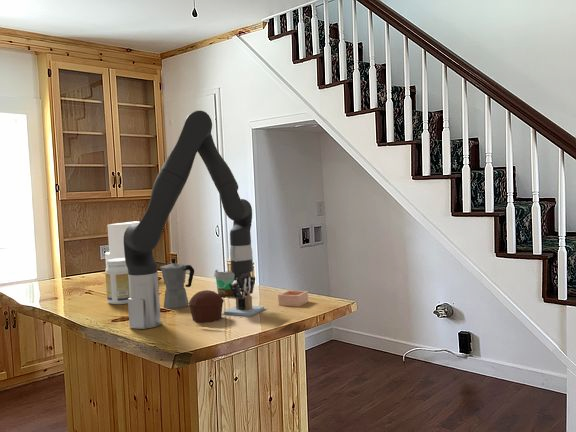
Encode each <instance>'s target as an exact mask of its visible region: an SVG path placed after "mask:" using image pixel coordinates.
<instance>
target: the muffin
mask: <svg viewBox="0 0 576 432" xmlns="http://www.w3.org/2000/svg"><path fill="white" fill-rule="evenodd" d="M224 302H225V300H224V299H223V297H221V296H220V295H219V294H218V292H216V291H214V290H206V289H205V290H201V291H197V292H196V293H195V294H194V295H193V296H192V297H191V298H190V300H188V303H189V304H188V306H189V308H190V313H191V317H192V321H194V322H195V323H200V324H201V323H203V324H204V323H212V322H216V321H220V319H222V316H223V315H222V314H223V304H224Z"/></svg>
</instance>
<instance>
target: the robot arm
mask: <svg viewBox="0 0 576 432" xmlns="http://www.w3.org/2000/svg"><path fill="white" fill-rule="evenodd" d="M212 130H213V121H212V118H211V116H210V115H209V114H208V113H207V112H206V111H205V110H204V111H203V110H195V111H192V112H191V113H189V114H188V115H187V116H186V118H185V120H184V124H183V126H182V129H181V130H180V134H179V136H178V138H177V142H176V143H175V145H174V147H173V148H172V150H171V151H170V153H169V154H168V156H167V157H166V159H165V161H164V163H163V164H162V166H161V168H160V169H159V171H158V174H157V176H156V178H155V180H154V182H153V185H152V188H151V193H150V199H149V202H148V207H147V209H146V211H145V213H144V215H143V216H142V217H141V219H140V221H139V222H140V223H136V224H132V225H130V226H129V227H128V228H127V229H126V231H125V233H124V253H125V262H126V266H127V268H128V276H129V292H130V298H129V299H128V303H127V307H128V308H127V309H128V321H129V322H128V323H129V328H130V329H138V330H146V329H149V328H150V329H151V328H155V327H158V326H160V325H161V324H162V319H161V306H160V305H161V304H160V291H159V289H160V286H159V275H158V274H159V273H158V264H157V262H156V260H155V258H154V254H153V250H154V249H156V247H157V245H158V244H159V241H160V239H161V236H162V233H163V232H164V228H165V226H166V224H167V221H168V217H169V216H170V214H171V212H172V210H173V209H174V206H175V204H176V202H177V200H178V199H179V196H180V195H181V193H182V191H183V189H184V188H185V185H186V183H187V181H188V179H189V176H190V173H191V171H192V168H193V164H194V161H195V159H196V155H197V153H198V155H199V156H200V158H201V160H202V161H203V163H204V165H205V167H206V169H207V171H208V173H209V177H210V178H211V180H212V182H213V184H214V186H215V187H216V188H215V189H216V190H217V192H218V193H219V196H220V201H221V204H222V208H223V210H224V213H225V215H226V216H227V217H228V218H229V220H231V221H233V224H232V228H231V229H230V231H229V240H230V241H229V242H230V247H229V248H230V249H229V253H230V254H229V256H230V260H229V261H230V272H232V273H234V282H233V283H230V288H231V290H232V293H233V296H234V297H233V298H235V299H236V298H238V304H239V309H241V310H244V309H245V299H244V298H245V296H251V294H254V293H253V291H254V288H255V282H256V276H252V273H251V272H253V271H254V257H253V248H252V238H251V229H252V220H253V208H252V204H251V203H250V202H249V201H248V200H247V199H244V198H240V195H239V191H238V190H239V184H238V182H237V181H236V178H235V176H234V174H233V172H232V170H231V169H230V167H229V165H228V163H227V161H225V159H224V158H223V157H222V155H221V154H220V152H219V150H218V148H217V147H216V145H215V142H214V138H213V135H212ZM239 288H240V289H239ZM236 293H237V294H236Z"/></svg>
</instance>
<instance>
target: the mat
mask: <svg viewBox="0 0 576 432" xmlns="http://www.w3.org/2000/svg"><path fill="white" fill-rule="evenodd" d="M267 310H268V308H264V310H262V311H260V312H258V313H256V314H254V315H251V316H239V315H226V314H224V312H222V315H221V316H228V317H229V316H230V317H239V318H240V317H242V318H253V317H254V316H257V315H258V314H260V313H263V312H264V311H267Z"/></svg>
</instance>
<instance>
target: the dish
mask: <svg viewBox="0 0 576 432" xmlns="http://www.w3.org/2000/svg"><path fill="white" fill-rule="evenodd" d="M277 296H278V306H285V307H297V308H298V307H301V306H303V305H305V304H307V303H308V302H309V292H308V291H307V290H286V291H283V292H281V293H279V294H278V295H277Z"/></svg>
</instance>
